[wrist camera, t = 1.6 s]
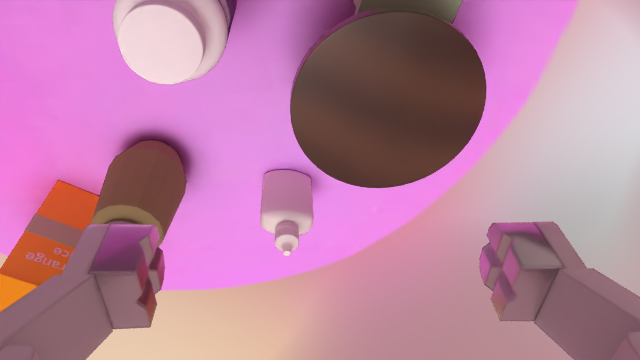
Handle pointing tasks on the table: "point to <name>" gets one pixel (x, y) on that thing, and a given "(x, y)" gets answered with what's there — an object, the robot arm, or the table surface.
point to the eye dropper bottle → (286, 207)
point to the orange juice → (46, 241)
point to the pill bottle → (172, 36)
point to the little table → (387, 97)
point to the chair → (414, 6)
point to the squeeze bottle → (142, 187)
